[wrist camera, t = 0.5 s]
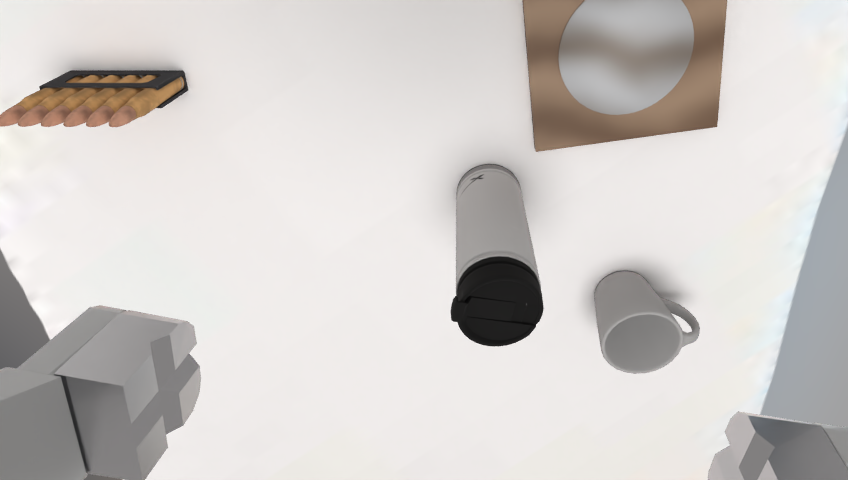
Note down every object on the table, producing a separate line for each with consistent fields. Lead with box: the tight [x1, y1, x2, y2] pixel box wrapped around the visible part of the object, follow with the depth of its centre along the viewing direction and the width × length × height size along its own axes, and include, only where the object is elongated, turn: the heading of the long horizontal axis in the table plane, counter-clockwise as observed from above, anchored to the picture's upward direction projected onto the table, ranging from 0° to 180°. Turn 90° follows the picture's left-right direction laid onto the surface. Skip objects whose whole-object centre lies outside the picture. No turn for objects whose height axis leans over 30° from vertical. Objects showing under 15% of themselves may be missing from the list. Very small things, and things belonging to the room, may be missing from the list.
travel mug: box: [451, 165, 543, 346], centre depth 50 cm, size 6×7×20 cm
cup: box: [595, 271, 700, 374], centre depth 60 cm, size 8×10×8 cm
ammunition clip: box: [0, 71, 188, 127], centre depth 49 cm, size 11×2×12 cm, turn 91°
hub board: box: [523, 0, 727, 152], centre depth 50 cm, size 16×16×1 cm
